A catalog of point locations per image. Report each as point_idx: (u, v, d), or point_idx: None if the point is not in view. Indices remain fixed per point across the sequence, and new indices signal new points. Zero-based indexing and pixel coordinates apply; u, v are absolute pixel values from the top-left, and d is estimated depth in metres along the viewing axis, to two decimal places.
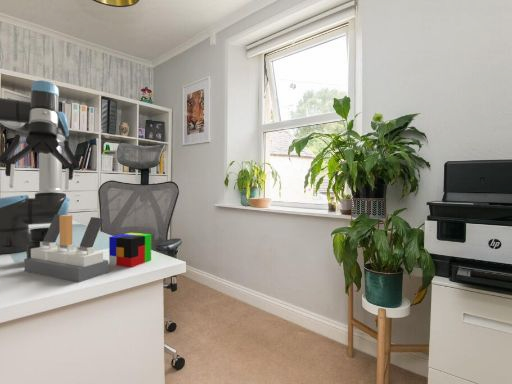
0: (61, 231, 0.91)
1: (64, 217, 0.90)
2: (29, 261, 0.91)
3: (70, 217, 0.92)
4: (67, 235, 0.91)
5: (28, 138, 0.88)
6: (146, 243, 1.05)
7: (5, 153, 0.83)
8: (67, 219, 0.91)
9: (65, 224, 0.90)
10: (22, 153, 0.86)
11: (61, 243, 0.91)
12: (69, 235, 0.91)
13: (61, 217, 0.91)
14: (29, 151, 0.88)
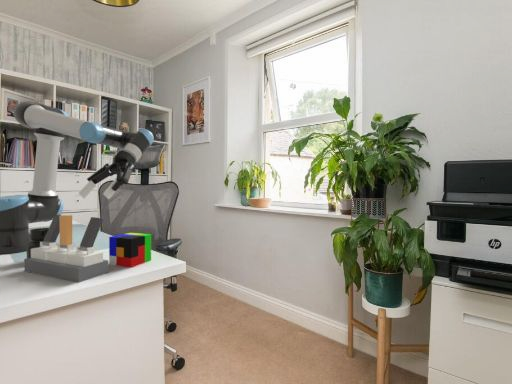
0: (61, 231, 0.91)
1: (64, 217, 0.90)
2: (29, 261, 0.91)
3: (70, 217, 0.92)
4: (67, 235, 0.91)
5: None
6: (146, 243, 1.04)
7: None
8: (67, 219, 0.91)
9: (65, 224, 0.90)
10: None
11: (61, 243, 0.91)
12: (69, 235, 0.91)
13: (61, 217, 0.91)
14: None
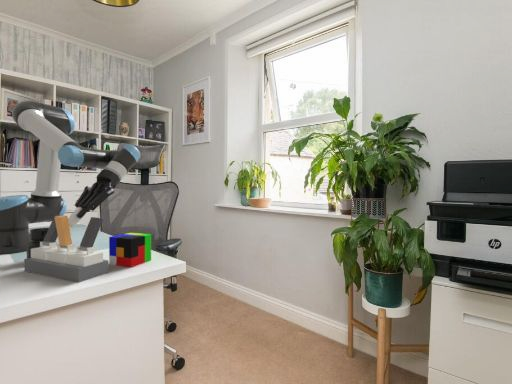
0: (59, 232, 0.90)
1: (59, 218, 0.89)
2: (29, 261, 0.91)
3: (65, 218, 0.90)
4: (65, 236, 0.90)
5: None
6: (146, 243, 1.04)
7: None
8: (63, 220, 0.89)
9: (61, 225, 0.89)
10: None
11: (61, 244, 0.91)
12: (67, 235, 0.91)
13: (56, 218, 0.90)
14: None
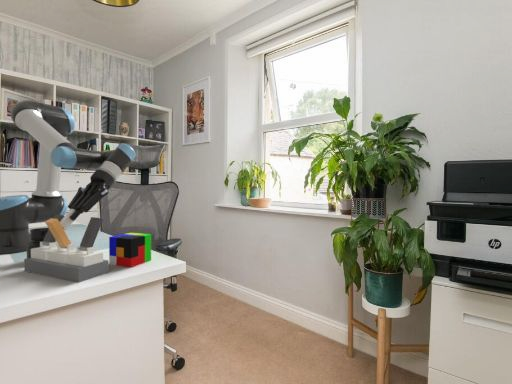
0: (55, 236, 0.89)
1: (50, 223, 0.87)
2: (29, 261, 0.91)
3: (56, 221, 0.88)
4: (61, 238, 0.89)
5: None
6: (146, 243, 1.04)
7: None
8: (54, 224, 0.87)
9: (55, 229, 0.87)
10: None
11: (60, 245, 0.91)
12: (64, 237, 0.90)
13: (47, 223, 0.87)
14: None
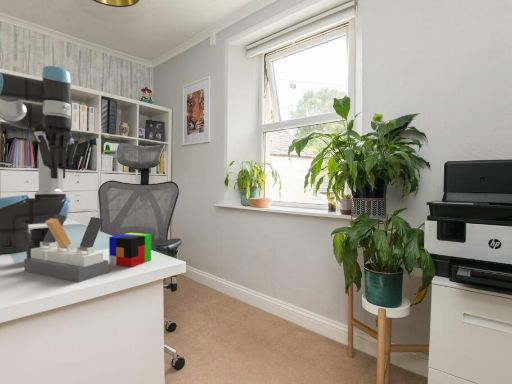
0: (55, 236, 0.89)
1: (50, 223, 0.87)
2: (29, 261, 0.91)
3: (56, 221, 0.88)
4: (61, 238, 0.89)
5: (48, 133, 0.89)
6: (146, 243, 1.04)
7: (48, 157, 0.89)
8: (54, 224, 0.87)
9: (55, 229, 0.87)
10: (56, 153, 0.91)
11: (60, 245, 0.91)
12: (64, 237, 0.90)
13: (47, 223, 0.87)
14: None
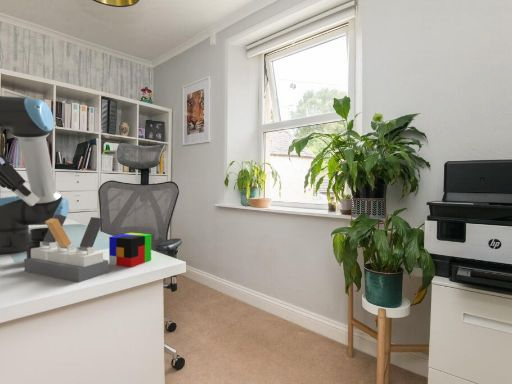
0: (55, 236, 0.89)
1: (50, 223, 0.87)
2: (29, 261, 0.91)
3: (56, 221, 0.88)
4: (61, 238, 0.89)
5: None
6: (146, 243, 1.04)
7: None
8: (54, 224, 0.87)
9: (55, 229, 0.87)
10: None
11: (60, 245, 0.91)
12: (64, 237, 0.90)
13: (47, 223, 0.87)
14: None
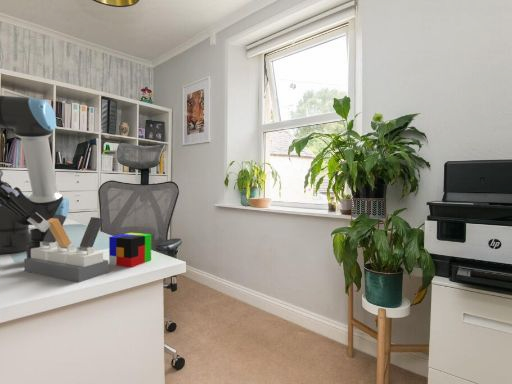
0: (55, 235, 0.89)
1: (51, 223, 0.87)
2: (29, 261, 0.91)
3: (57, 221, 0.88)
4: (62, 238, 0.89)
5: None
6: (146, 243, 1.04)
7: (9, 209, 0.80)
8: (55, 224, 0.87)
9: (55, 229, 0.88)
10: (9, 206, 0.78)
11: (60, 245, 0.91)
12: (64, 237, 0.90)
13: None
14: None
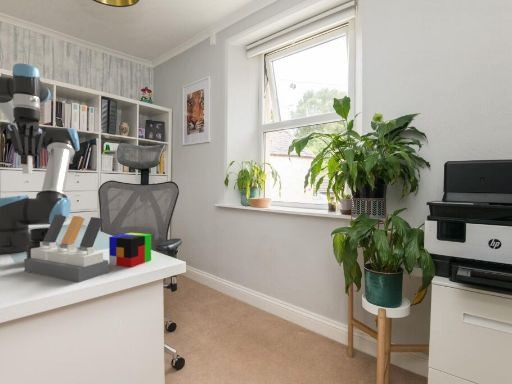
0: (68, 231, 0.93)
1: (77, 217, 0.95)
2: (29, 261, 0.91)
3: (82, 219, 0.95)
4: (72, 234, 0.92)
5: (19, 123, 0.99)
6: (146, 243, 1.04)
7: (19, 145, 0.99)
8: (79, 220, 0.94)
9: (75, 224, 0.94)
10: (27, 141, 1.02)
11: (63, 242, 0.92)
12: (74, 235, 0.93)
13: (74, 217, 0.95)
14: None
